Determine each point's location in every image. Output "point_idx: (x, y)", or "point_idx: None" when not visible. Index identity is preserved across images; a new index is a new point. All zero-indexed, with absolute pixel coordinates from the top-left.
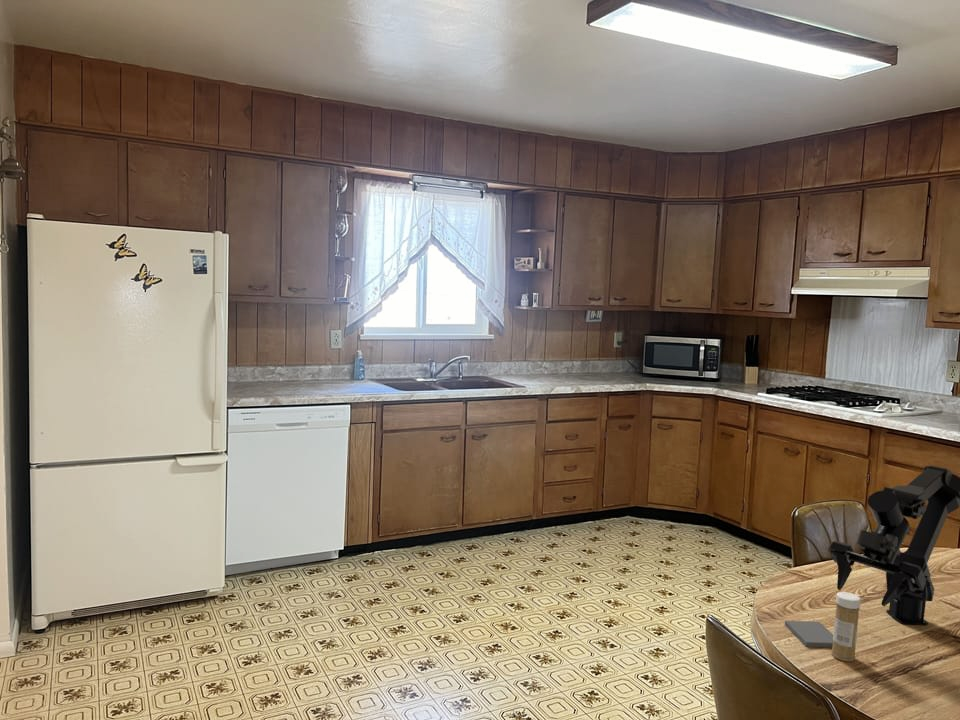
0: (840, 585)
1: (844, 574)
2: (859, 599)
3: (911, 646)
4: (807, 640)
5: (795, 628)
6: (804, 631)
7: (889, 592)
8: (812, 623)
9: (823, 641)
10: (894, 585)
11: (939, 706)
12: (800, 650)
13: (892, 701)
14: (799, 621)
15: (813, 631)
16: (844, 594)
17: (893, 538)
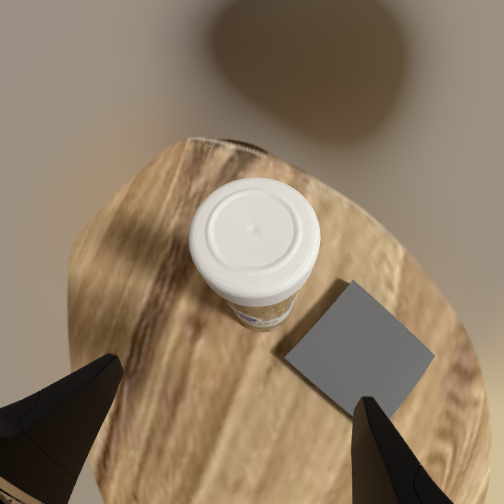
0: (363, 415)
1: (377, 490)
2: (191, 228)
3: (158, 484)
4: (355, 292)
5: (403, 335)
6: (382, 338)
7: (60, 388)
8: (385, 407)
9: (324, 322)
10: (20, 411)
11: (82, 242)
12: (348, 253)
13: (143, 195)
14: (411, 386)
15: (366, 361)
16: (279, 228)
17: None
